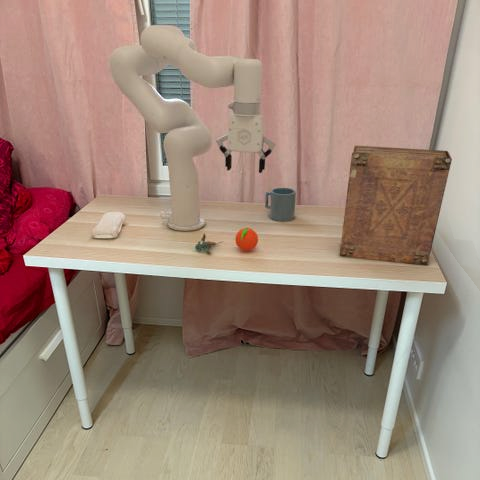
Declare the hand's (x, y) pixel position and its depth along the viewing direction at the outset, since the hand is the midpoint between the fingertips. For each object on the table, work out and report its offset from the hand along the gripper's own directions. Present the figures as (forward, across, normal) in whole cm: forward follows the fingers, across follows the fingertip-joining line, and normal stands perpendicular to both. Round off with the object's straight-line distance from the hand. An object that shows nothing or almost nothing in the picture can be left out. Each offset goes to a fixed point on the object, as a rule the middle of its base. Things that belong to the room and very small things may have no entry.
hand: (244, 170), depth 143 cm
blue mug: (+22, +8, +25) cm, 34 cm away
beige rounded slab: (+23, -45, -1) cm, 51 cm away
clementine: (+22, +3, -9) cm, 24 cm away
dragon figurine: (+22, -9, -11) cm, 26 cm away
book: (+21, +44, -4) cm, 49 cm away
